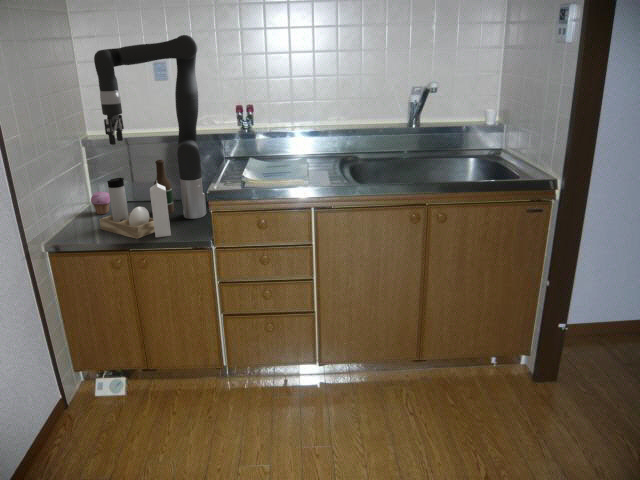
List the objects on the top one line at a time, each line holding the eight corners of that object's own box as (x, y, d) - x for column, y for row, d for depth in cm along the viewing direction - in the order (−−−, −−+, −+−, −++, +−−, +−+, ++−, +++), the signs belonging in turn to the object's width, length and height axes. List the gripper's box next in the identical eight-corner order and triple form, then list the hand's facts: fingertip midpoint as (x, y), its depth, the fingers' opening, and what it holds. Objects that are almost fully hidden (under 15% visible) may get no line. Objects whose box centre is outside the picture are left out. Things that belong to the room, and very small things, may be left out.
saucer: (148, 225, 226) (145, 203, 223) (150, 226, 226) (147, 204, 222) (129, 232, 219) (126, 209, 215) (132, 233, 218) (128, 210, 215)
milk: (155, 237, 217) (148, 184, 209) (155, 232, 222) (148, 180, 214) (171, 235, 218) (164, 182, 210) (170, 231, 224) (164, 178, 216)
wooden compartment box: (124, 221, 236) (123, 211, 235) (160, 229, 225) (158, 219, 224) (101, 229, 227) (99, 219, 225) (137, 238, 216) (135, 228, 214)
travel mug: (125, 227, 225) (118, 180, 218) (110, 226, 226) (103, 179, 219) (133, 222, 231) (126, 176, 223) (119, 221, 232) (112, 175, 225)
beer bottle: (178, 211, 248) (172, 159, 240) (165, 216, 242) (158, 162, 234) (166, 208, 252) (160, 157, 244) (153, 213, 246) (146, 161, 238)
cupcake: (95, 210, 251) (91, 189, 247) (114, 209, 252) (111, 188, 249) (91, 216, 243) (87, 195, 239) (111, 215, 244) (108, 193, 241)
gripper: (113, 104, 212) (119, 145, 218) (126, 100, 225) (131, 139, 231) (94, 104, 212) (101, 146, 218) (108, 100, 225) (113, 139, 231)
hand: (116, 142), depth 224 cm, fingers open, 8 cm apart
